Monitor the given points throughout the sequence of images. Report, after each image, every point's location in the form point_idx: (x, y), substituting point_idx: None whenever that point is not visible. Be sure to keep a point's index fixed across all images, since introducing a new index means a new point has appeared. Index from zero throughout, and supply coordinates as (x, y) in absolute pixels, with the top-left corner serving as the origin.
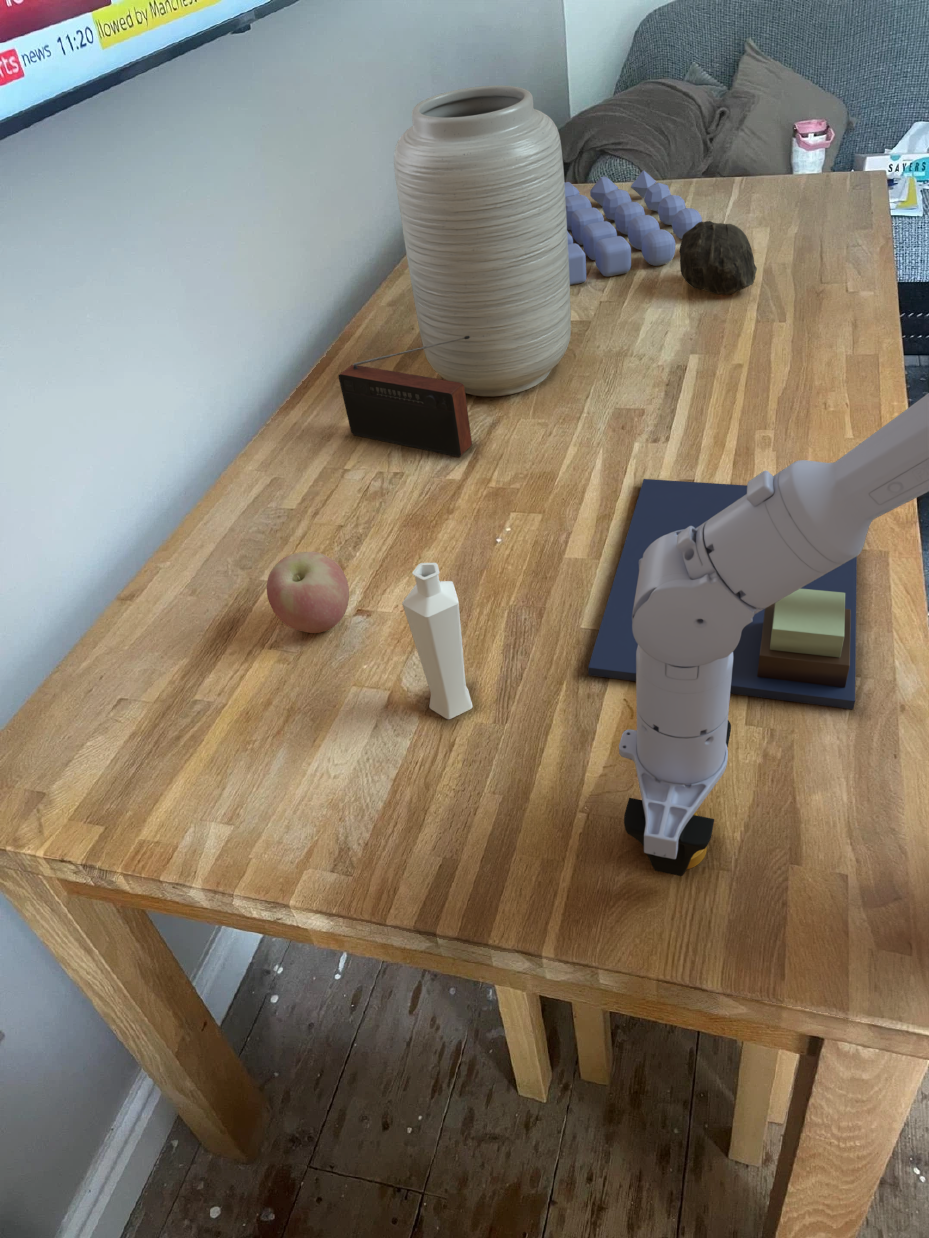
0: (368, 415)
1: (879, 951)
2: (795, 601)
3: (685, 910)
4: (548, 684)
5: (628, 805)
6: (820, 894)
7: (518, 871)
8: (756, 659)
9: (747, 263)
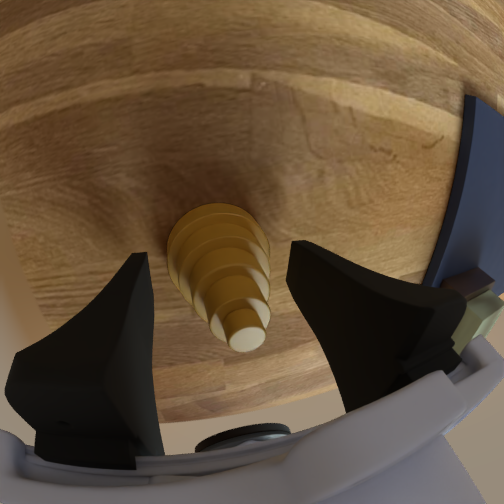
0: None
1: (158, 411)
2: (491, 322)
3: None
4: (451, 43)
5: (68, 391)
6: (195, 381)
7: (97, 13)
8: (456, 273)
9: None
